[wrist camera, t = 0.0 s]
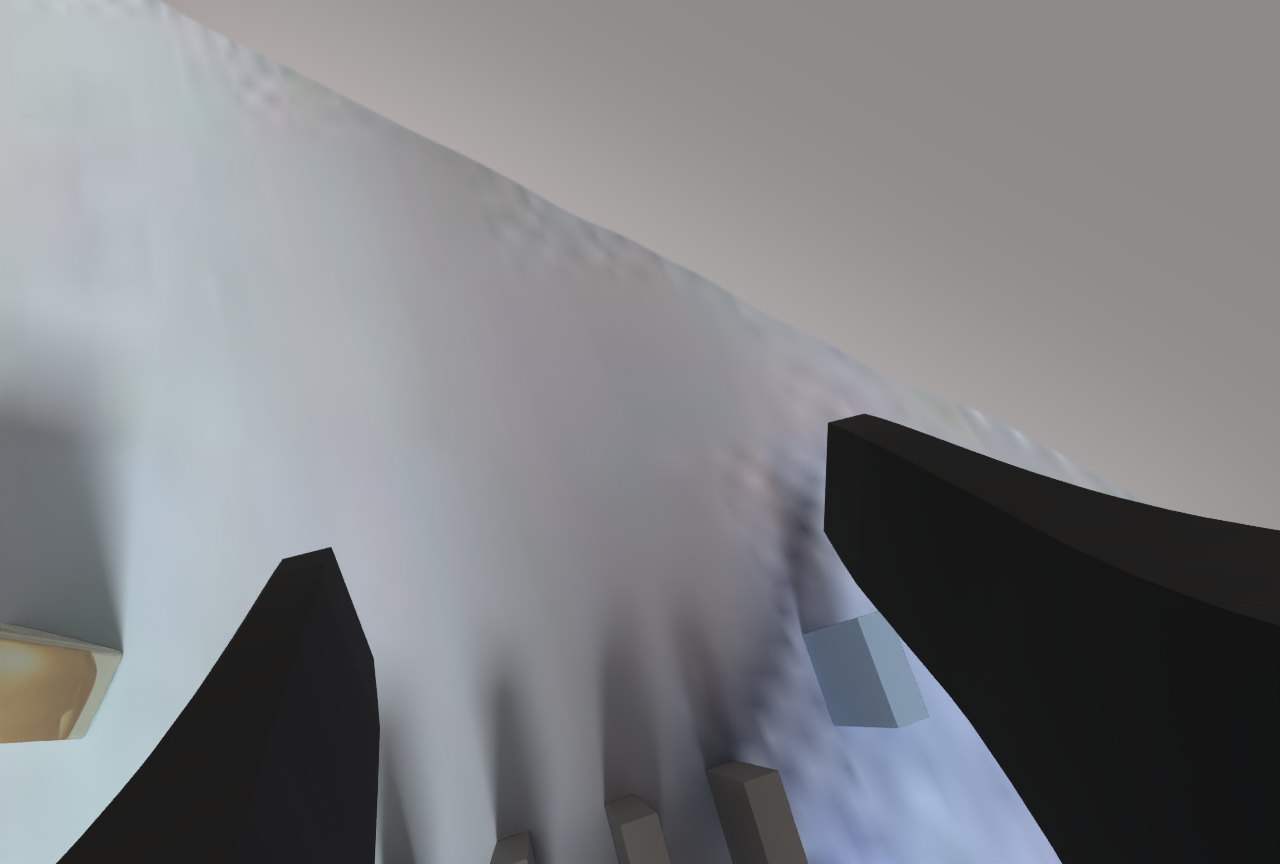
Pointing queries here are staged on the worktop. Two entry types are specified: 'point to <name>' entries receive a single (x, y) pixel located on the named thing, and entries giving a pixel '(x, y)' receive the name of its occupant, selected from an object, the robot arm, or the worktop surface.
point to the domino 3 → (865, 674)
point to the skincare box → (50, 684)
